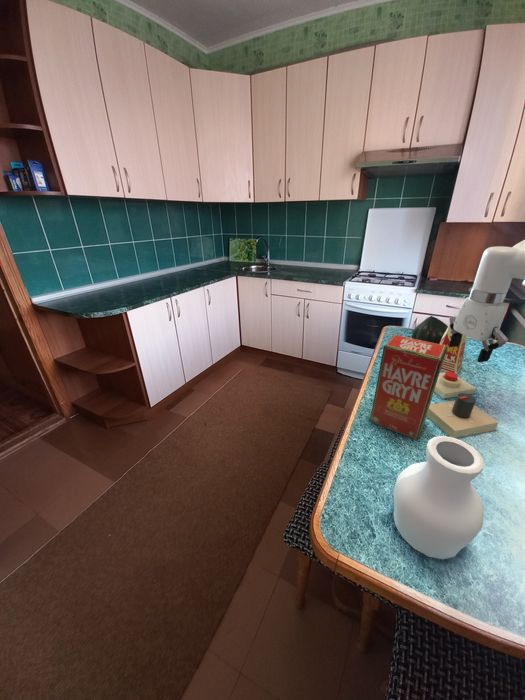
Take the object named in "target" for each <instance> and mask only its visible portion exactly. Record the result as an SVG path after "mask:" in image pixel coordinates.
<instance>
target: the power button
mask: <svg viewBox="0 0 525 700" xmlns="http://www.w3.org/2000/svg"><path fill="white" fill-rule="evenodd" d="M444 373H445V376H444V379H446V380H448V381H453V382H455V381H456V380H457V377H459V375H458V373H457V374H455V373H453V372H444Z"/></svg>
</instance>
